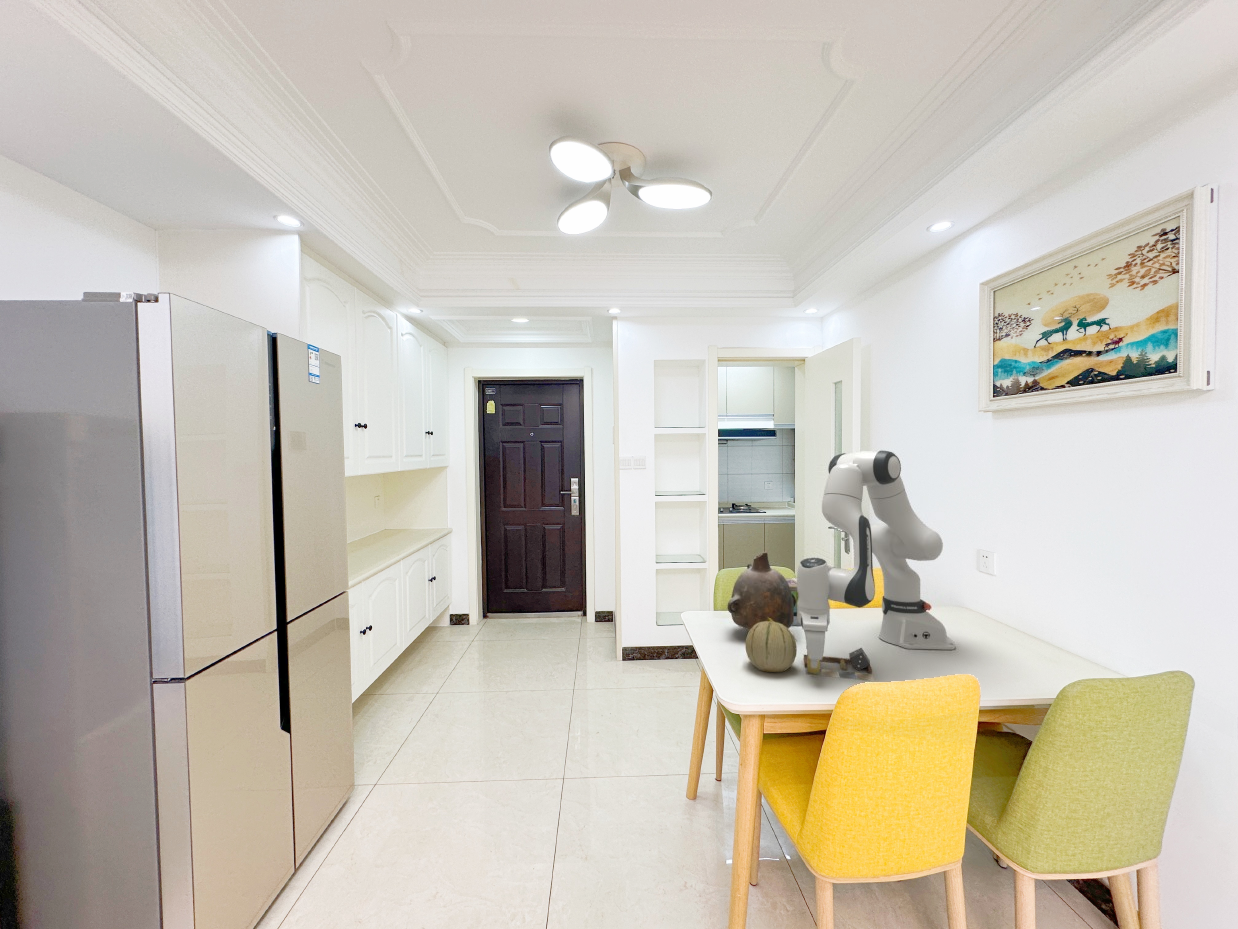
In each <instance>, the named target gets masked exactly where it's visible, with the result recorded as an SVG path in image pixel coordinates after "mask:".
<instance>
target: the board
mask: <svg viewBox="0 0 1238 929" xmlns="http://www.w3.org/2000/svg"><path fill="white" fill-rule="evenodd" d="M820 662H822V663H823V662H824V663H834V664H840V668H841V670H832V669H824V668H820V673H818V674H812V673H809V672H808V671H807V654H803V663H804V664H803V665H804V671H805V675H810V676H819V677H821V676H822V677H832V678H841V679H850V680H851V679H852V680H861V681H868V682H869V681H871V682H875V678H874V676H873V669H872V667H871V664H870V665H869V666H867V667H865V668H866V670H867V672H868V673H866V672H865V673H864V672H855V671H854V672H853V671H846V670H848V668H847V665H853V663H852V661H851V660H850V658H847V657H835V656H826V655H825V656H824V655H823V658H822V660H820Z"/></svg>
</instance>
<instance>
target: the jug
mask: <svg viewBox="0 0 1238 929" xmlns="http://www.w3.org/2000/svg"><path fill="white" fill-rule="evenodd" d="M746 567H747V568H746V570H743V571H742V572H741V573H740V574H739V576H738V577H737V579H736V580H735V582H734V584H733V589H732V591H731V597H730V599H729V600H728V603H727V610H728V613H730V614H731V618H732V621H733V623H734V624H736V625H737V626H738V627H740V628H743V629H746V630H748V631H750V629H751V628H752V627H753V626H754V625H756V624H757V623H759V622H764V621H769V620H767V618H770V619H772V620H773V621H774V622H777V623H780V624H783V625H784V626H786V627H787V628H788V629H789V628H791V627H793V625H792V624H793V618H794V607H795V605H796V599H795V596H794V595H793V594H792V593H791V590H790V587H789V585H788V582H787V581H786V579H785V578H786V577H784V575H783V574H782V573H781V572H779V570H776V569H774V568H772V567H771V565H770V562H769V556H768V552H766V551H763V552H761V553H759V554H758V555H757V556H755V557H754V558H753V563H747V565H746Z"/></svg>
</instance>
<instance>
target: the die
mask: <svg viewBox="0 0 1238 929" xmlns="http://www.w3.org/2000/svg"><path fill="white" fill-rule="evenodd" d="M848 655H849V656H848V657H849V658H848V659H850V660H851V661H852V663H853V664H852V665H853V666H854V668H855V669H856V671H861V670H862V669H865V668H866V667H867V666H869V665H870V666H871V659H870V658H869V657H868V655H867V653H866V652H865V651H864V650H863V648H862V647H860V648H858V649H856V650H853V651H851V652H849V653H848Z"/></svg>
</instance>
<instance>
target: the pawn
mask: <svg viewBox="0 0 1238 929" xmlns="http://www.w3.org/2000/svg"><path fill="white" fill-rule="evenodd" d="M805 649H807V645H806V648H805ZM806 655H807V671H808V672H809V673H812V674H818V673H820V669H821V668H820V667H821V661H820V660H818V667H817V668H812V667H811V659H809V657H808V652H806Z"/></svg>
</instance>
